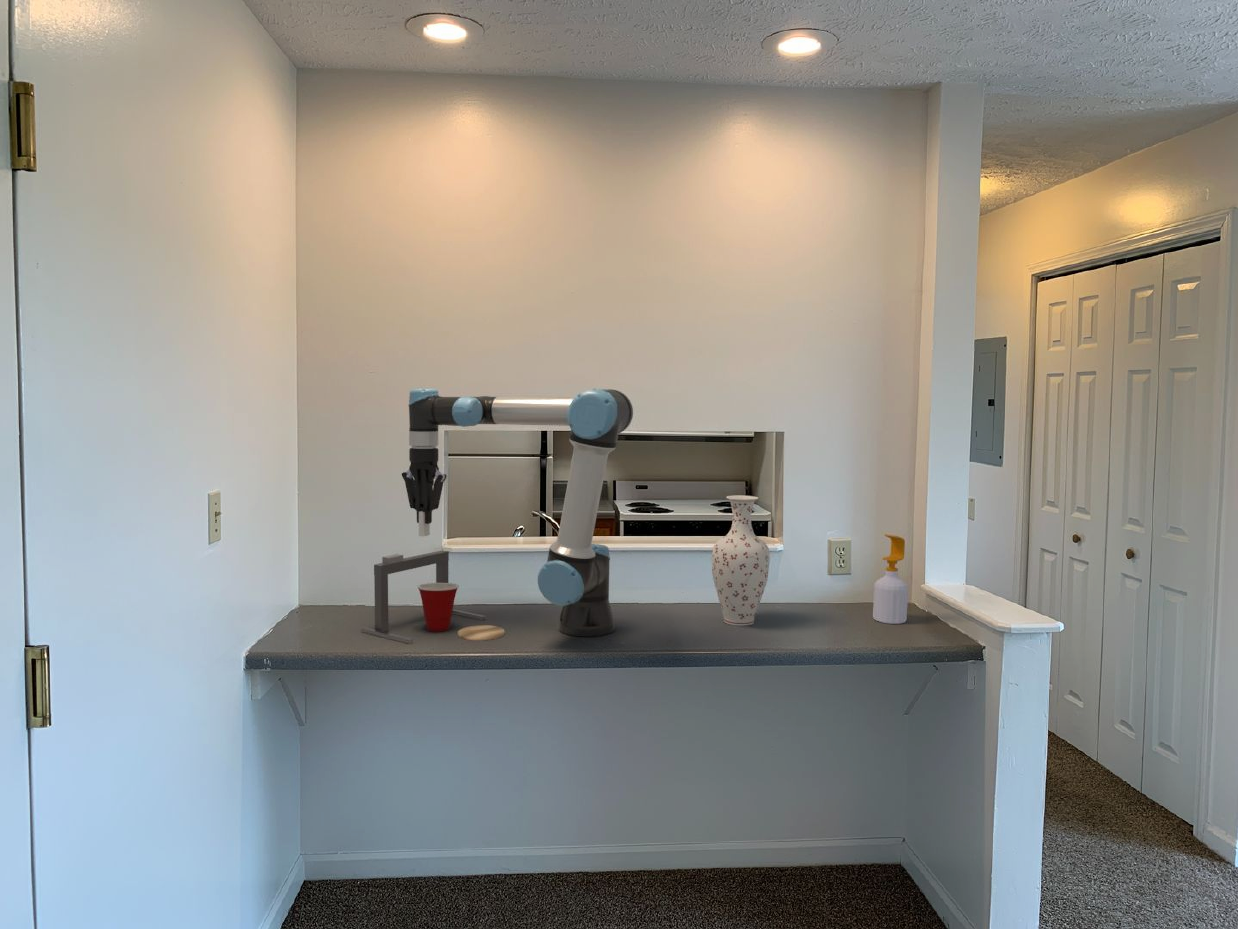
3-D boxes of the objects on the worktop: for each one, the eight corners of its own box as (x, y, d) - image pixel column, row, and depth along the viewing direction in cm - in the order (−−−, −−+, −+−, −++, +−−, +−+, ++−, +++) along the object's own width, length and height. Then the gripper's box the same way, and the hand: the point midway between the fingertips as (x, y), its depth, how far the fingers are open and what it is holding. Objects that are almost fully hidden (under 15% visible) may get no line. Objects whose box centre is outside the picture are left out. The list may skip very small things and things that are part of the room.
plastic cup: (462, 623, 234) (462, 580, 232) (455, 634, 223) (454, 589, 222) (422, 622, 234) (422, 579, 232) (413, 634, 223) (412, 588, 222)
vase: (699, 617, 243) (702, 494, 240) (748, 611, 250) (751, 492, 247) (728, 632, 229) (731, 502, 226) (779, 626, 235) (783, 499, 232)
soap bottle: (866, 619, 243) (870, 533, 241) (884, 614, 250) (887, 530, 247) (895, 626, 237) (899, 538, 235) (912, 620, 243) (916, 535, 241)
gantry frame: (448, 612, 243) (448, 545, 241) (381, 632, 222) (380, 559, 221) (442, 611, 244) (441, 544, 242) (374, 631, 224) (373, 558, 222)
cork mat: (513, 632, 226) (514, 630, 225) (482, 643, 216) (482, 641, 215) (479, 625, 232) (479, 622, 232) (448, 635, 222) (448, 633, 222)
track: (485, 619, 238) (485, 615, 238) (409, 643, 214) (409, 640, 214) (438, 609, 247) (438, 606, 247) (361, 631, 224) (360, 628, 224)
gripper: (452, 447, 227) (452, 535, 230) (412, 445, 232) (412, 531, 235) (436, 449, 221) (436, 539, 223) (394, 446, 226) (395, 535, 228)
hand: (424, 535), depth 229 cm, fingers closed
